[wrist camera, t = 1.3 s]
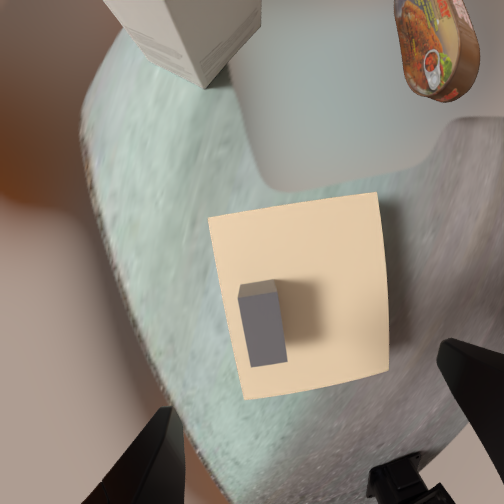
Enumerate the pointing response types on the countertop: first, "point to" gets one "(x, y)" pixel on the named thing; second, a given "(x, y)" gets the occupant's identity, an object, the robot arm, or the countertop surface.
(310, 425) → the countertop surface
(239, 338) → the carton lid
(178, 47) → the skincare box
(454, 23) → the tin
